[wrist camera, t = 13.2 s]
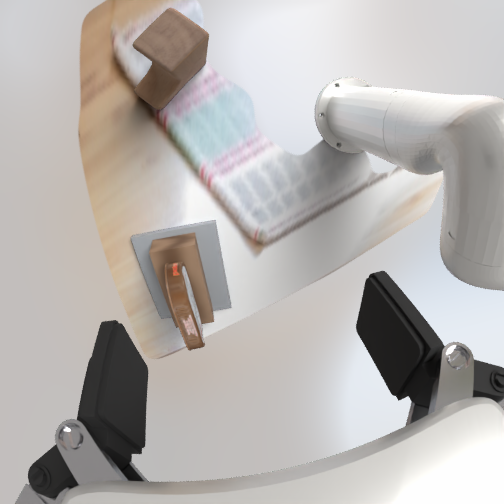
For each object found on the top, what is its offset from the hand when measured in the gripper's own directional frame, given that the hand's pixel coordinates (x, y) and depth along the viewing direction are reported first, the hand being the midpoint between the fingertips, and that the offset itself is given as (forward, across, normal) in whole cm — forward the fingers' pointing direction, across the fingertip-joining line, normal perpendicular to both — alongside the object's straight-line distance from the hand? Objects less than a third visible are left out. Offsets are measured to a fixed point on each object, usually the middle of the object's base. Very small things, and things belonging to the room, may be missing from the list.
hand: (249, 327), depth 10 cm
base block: (+32, +8, +20) cm, 39 cm away
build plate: (+33, +8, +20) cm, 40 cm away
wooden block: (+34, +4, -12) cm, 36 cm away
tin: (+28, +8, +20) cm, 36 cm away
